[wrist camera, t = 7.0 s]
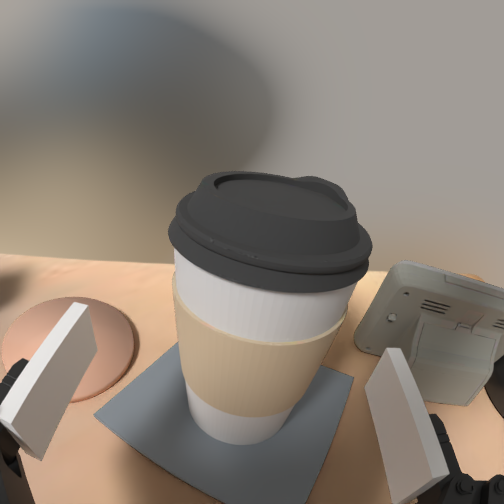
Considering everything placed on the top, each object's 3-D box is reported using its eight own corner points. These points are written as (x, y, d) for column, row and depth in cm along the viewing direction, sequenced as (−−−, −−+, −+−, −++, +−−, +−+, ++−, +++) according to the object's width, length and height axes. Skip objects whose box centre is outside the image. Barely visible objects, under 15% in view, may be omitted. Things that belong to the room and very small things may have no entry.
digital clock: (482, 366, 25) (530, 284, 20) (489, 427, 17) (560, 335, 13) (357, 321, 31) (391, 228, 26) (336, 377, 23) (384, 264, 18)
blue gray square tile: (352, 379, 23) (354, 377, 23) (290, 531, 11) (291, 530, 11) (206, 318, 28) (206, 315, 28) (94, 416, 16) (93, 414, 16)
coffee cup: (221, 483, 14) (273, 240, 7) (149, 382, 20) (140, 161, 13) (327, 415, 19) (417, 212, 13) (249, 343, 25) (283, 159, 19)
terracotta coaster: (163, 342, 24) (163, 337, 24) (55, 432, 14) (52, 428, 14) (78, 287, 28) (77, 282, 28) (-15, 340, 18) (-17, 335, 18)
